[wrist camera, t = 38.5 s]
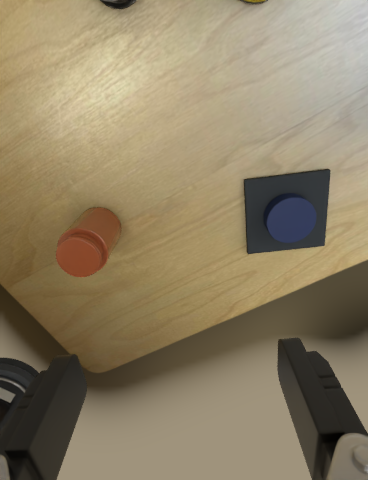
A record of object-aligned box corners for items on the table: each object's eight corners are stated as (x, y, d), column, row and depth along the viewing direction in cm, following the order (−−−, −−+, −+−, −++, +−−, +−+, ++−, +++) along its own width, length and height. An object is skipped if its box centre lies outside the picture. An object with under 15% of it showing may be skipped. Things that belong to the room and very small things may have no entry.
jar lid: (288, 245, 39) (293, 251, 37) (253, 222, 37) (256, 228, 36) (320, 209, 36) (326, 214, 35) (284, 183, 35) (289, 187, 33)
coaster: (322, 243, 39) (324, 246, 39) (247, 252, 40) (248, 254, 39) (328, 168, 35) (330, 169, 34) (243, 179, 36) (244, 180, 35)
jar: (125, 243, 40) (110, 278, 32) (85, 248, 40) (60, 283, 32) (115, 204, 37) (96, 231, 29) (73, 210, 38) (43, 237, 30)
